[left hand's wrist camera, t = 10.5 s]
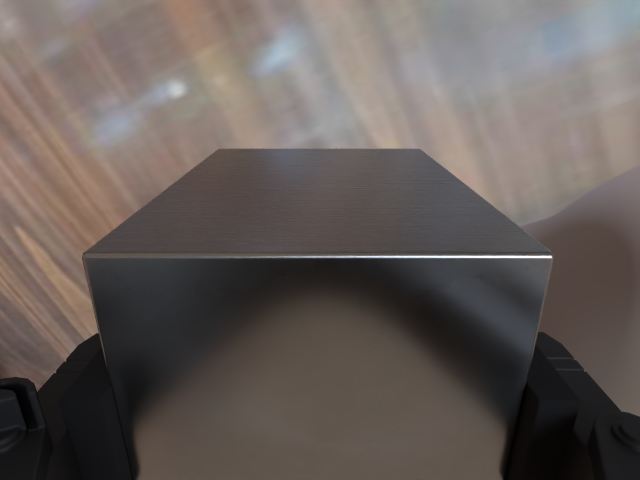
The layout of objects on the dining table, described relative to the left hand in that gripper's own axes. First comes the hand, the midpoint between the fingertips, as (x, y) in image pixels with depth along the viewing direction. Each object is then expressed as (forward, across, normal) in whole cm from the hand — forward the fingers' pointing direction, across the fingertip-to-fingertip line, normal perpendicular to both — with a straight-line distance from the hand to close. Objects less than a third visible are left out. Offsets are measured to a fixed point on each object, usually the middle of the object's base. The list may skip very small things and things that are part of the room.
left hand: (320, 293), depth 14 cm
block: (+4, 0, 0) cm, 4 cm away
